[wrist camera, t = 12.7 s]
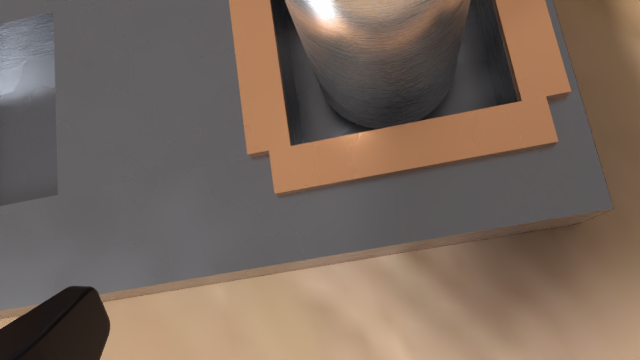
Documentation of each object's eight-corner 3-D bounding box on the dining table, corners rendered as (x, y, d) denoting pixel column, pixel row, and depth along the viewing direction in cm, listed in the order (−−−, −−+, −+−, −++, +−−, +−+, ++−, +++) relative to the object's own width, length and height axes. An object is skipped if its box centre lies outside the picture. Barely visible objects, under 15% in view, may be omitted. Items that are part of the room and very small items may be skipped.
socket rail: (485, -119, 18) (499, -196, 15) (579, 223, 15) (618, 206, 12) (-79, 21, 21) (-155, -22, 18) (-93, 334, 18) (-187, 340, 15)
